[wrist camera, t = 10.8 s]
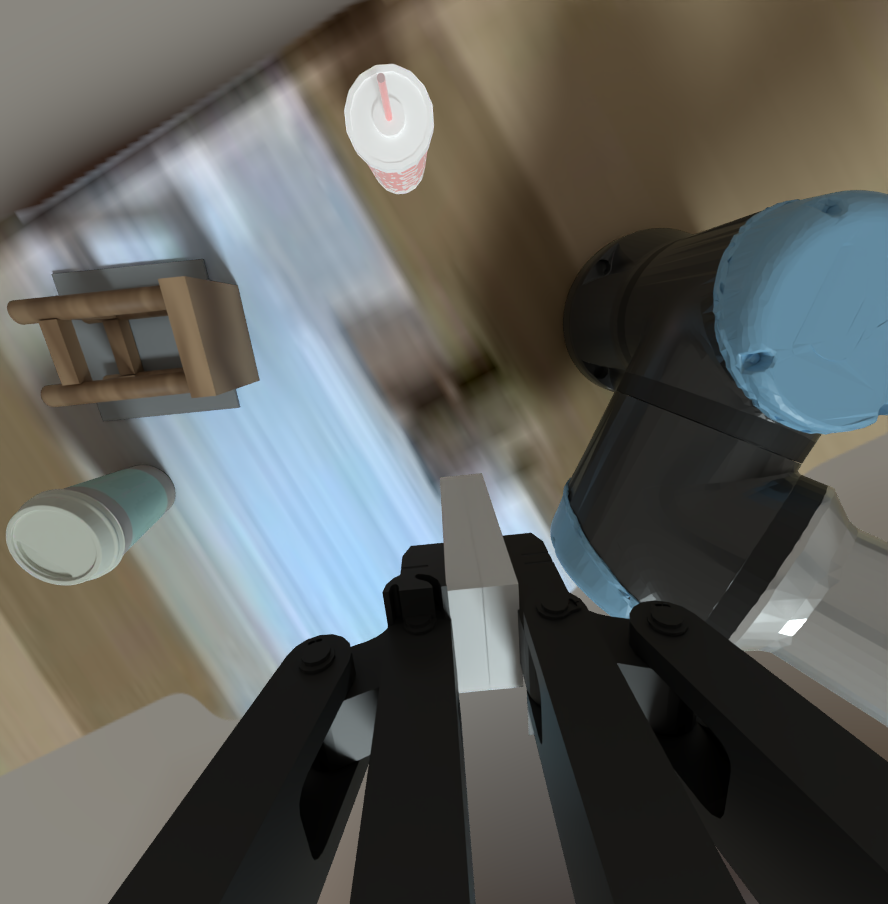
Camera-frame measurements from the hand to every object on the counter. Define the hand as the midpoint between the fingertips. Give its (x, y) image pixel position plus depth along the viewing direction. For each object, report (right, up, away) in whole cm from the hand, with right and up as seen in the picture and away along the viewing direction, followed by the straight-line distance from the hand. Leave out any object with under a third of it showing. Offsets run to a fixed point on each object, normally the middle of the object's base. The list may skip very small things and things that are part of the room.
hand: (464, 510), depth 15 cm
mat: (-29, +13, +26) cm, 41 cm away
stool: (-20, +12, +22) cm, 32 cm away
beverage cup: (-5, +28, +22) cm, 36 cm away
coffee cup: (-33, -2, +31) cm, 45 cm away
